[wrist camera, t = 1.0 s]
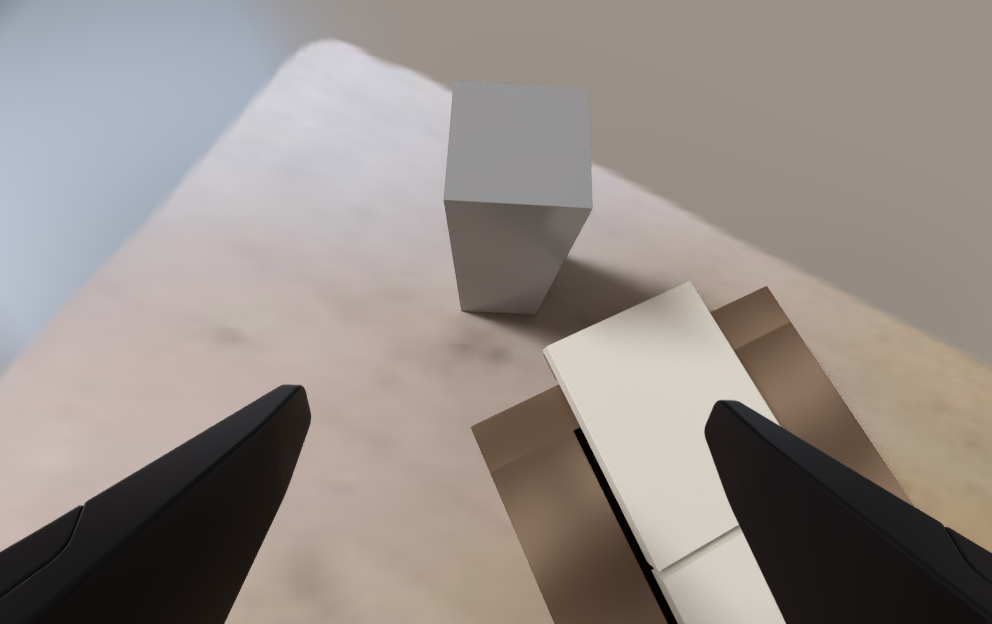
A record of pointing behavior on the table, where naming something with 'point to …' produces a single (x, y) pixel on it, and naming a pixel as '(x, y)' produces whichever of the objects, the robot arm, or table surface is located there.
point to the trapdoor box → (581, 502)
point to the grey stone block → (515, 189)
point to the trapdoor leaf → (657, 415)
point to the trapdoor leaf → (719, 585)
